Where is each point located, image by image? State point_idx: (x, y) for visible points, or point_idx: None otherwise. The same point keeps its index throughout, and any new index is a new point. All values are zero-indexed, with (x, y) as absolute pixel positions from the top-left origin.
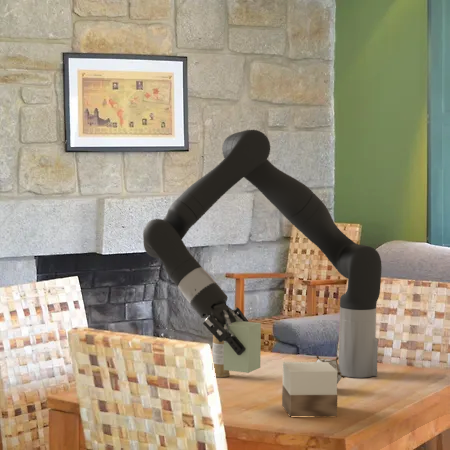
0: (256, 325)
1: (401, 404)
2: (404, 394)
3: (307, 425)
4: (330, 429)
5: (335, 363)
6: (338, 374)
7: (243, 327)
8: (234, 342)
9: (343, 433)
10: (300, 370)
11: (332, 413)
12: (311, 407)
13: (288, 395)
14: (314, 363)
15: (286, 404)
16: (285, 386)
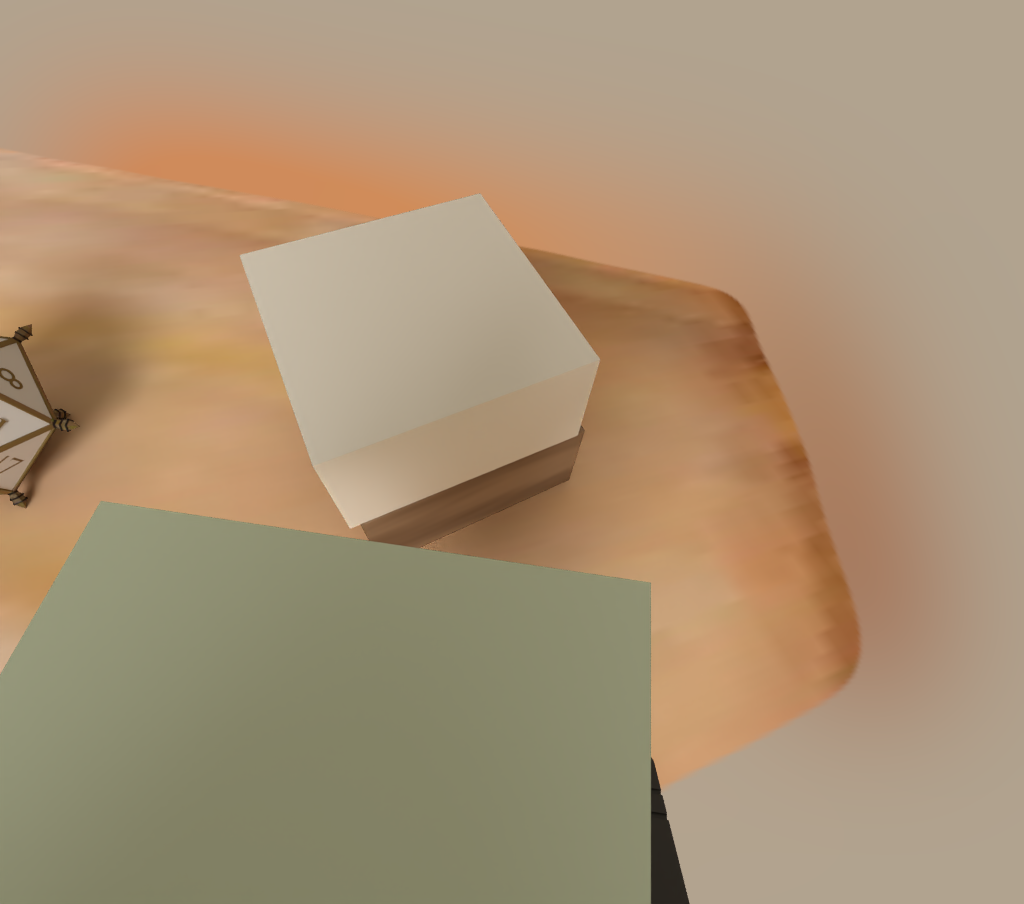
0: (305, 536)
1: (245, 215)
2: (87, 219)
3: (644, 402)
4: (650, 334)
5: None
6: (19, 343)
7: (647, 710)
8: (672, 860)
9: (672, 298)
10: (539, 323)
11: None
12: None
13: (527, 461)
14: (306, 299)
15: (483, 504)
16: (443, 485)
